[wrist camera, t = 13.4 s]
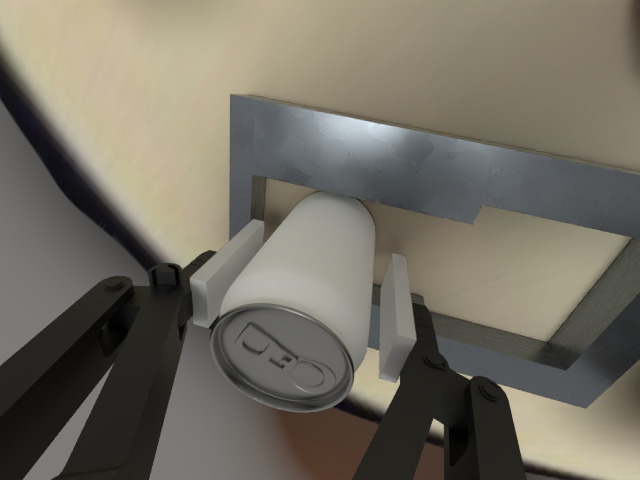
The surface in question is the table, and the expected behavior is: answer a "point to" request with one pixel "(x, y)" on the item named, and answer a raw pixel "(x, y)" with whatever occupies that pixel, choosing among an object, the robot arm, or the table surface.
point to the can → (301, 308)
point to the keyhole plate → (460, 205)
